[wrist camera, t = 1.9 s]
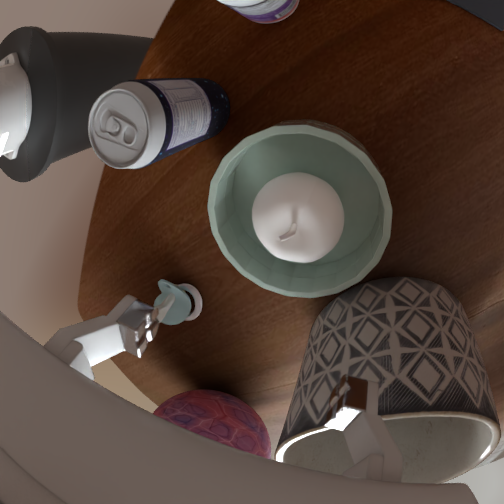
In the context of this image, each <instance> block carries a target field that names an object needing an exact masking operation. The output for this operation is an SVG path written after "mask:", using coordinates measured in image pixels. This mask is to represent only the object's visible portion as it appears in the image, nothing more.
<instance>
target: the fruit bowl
mask: <svg viewBox="0 0 504 504" xmlns="http://www.w3.org/2000/svg"><path fill="white" fill-rule="evenodd" d="M293 172H302V173H308V174H311V175H314V176H316V177H318V178H320V179H322V180H324V181H326V182H327V183H328V184H329V185H330V186H332V187H333V189H334V190H335V191H336V193H337V194H338V196H339V198H340V201H341V203H342V206H343V210H344V227H343V232H342V234H341V237H340V239H339V241H338V243H337V244H336V245H335V247H334V248H333V249H332V250H331V251H330V252H328V253H327V254H326V255H325V256H323V257H322V258H320V259H318V260H316V261H313V262H306V263H301V262H293V261H287V260H283V259H280V258H277V257H276V256H274V255H273V254H271V253H270V252H269V251H268V249H267V248H266V247H265V246H264V245H263V244H262V243H261V241H260V240H259V238H258V237H257V235H256V232H255V229H254V226H253V221H252V207H253V203H254V200H255V198H256V196H257V194H258V193H259V191H260V190H261V189H262V188H263V187H264V185H265V184H266V183H268V182H269V181H271V180H272V179H274V178H276V177H278V176H280V175H283V174H287V173H293ZM207 208H208V214H209V219H210V225H211V230H212V234H213V236H214V238H215V239H216V241H217V243H218V245H219V247H220V249H221V251H222V253H223V255H224V256H225V257H226V258H227V259H228V260H229V261H230V263H231V264H232V265H233V266H234V267H235V268H236V269H237V270H238V271H239V272H240V273H241V274H242V275H243V276H245V277H247V278H248V279H250V280H251V281H253V282H254V283H256V284H257V285H259V286H261V287H262V288H264V289H267V290H270V291H273V292H276V293H279V294H282V295H285V296H292V297H306V298H315V297H321V296H326V295H331V294H336V293H339V292H341V291H343V290H345V289H346V288H348V287H350V286H352V285H354V284H356V283H358V282H360V281H361V280H362V279H363V278H364V277H365V276H366V275H367V274H368V273H369V272H370V271H371V270H372V269H373V268H374V267H375V266H376V265H377V264H378V262H379V261H380V259H381V257H382V255H383V253H384V250H385V248H386V246H387V244H388V242H389V240H390V235H391V224H392V206H391V202H390V198H389V194H388V191H387V187H386V184H385V181H384V178H383V176H382V174H381V171H380V169H379V167H378V165H377V163H376V162H375V161H374V159H373V158H372V156H371V154H370V153H369V152H368V151H367V149H366V148H365V147H364V145H363V144H362V143H361V142H359V141H358V140H357V139H356V138H354V137H353V136H352V135H350V134H349V133H348V132H346V131H344V130H342V129H341V128H339V127H336V126H334V125H331V124H328V123H325V122H321V121H317V120H312V119H310V120H307V119H298V120H286V121H282V122H280V123H277V124H275V125H272V126H269V127H267V128H264V129H262V130H260V131H258V132H256V133H254V134H252V135H250V136H248V137H246V138H244V139H243V140H242V141H241V142H240V143H238V144H237V145H236V146H235V147H234V148H233V149H232V150H231V151H230V152H229V153H227V154H226V155H225V156H224V158H223V159H222V161H221V163H220V165H219V167H218V169H217V170H216V172H215V174H214V176H213V178H212V180H211V184H210V191H209V198H208V206H207Z"/></svg>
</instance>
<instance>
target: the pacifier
mask: <svg viewBox="0 0 504 504" xmlns="http://www.w3.org/2000/svg"><path fill="white" fill-rule="evenodd" d="M166 284H167V285H166ZM168 285H169V286H168ZM158 286H159V288H160V290H161V291H162V294H160V295H159V296H158V297H157V298H156V300H155V303H154V307H156V308H158V310H159V314H158V316H157V319H158V320H159V323H160V322H162V323H164V324H167V325H176V324H179V323H181V322H182V321H184V320H187V321H189V320H193V319H195V318H197V317H198V316H199V314H200V312H201V310H202V298H201V295H200V293H199V291H198V290H197V289H196V288H195V287H194V286H192V285H190V284H184V283H183V284H180V285H177V284H173V283H171V282H169V281H167V280H163V279H161V280H160V281H158ZM185 290H186V291H188V292H190V293H191V294H192V296H193V298H194V300H195V309H194V311H193V312H192V313H190V310H191V300H190V298H189V296H188V295H187V294H186V292H185Z"/></svg>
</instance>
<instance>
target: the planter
mask: <svg viewBox="0 0 504 504" xmlns="http://www.w3.org/2000/svg"><path fill="white" fill-rule="evenodd" d="M345 374H347V375H351V376H355V377H359V378H363V379H366V380H370V381H374V382H378V384H379V391H378V415H380V416H381V417H382V419H383V421H384V423H385V425H386V426H387V428H388V430H389V432H390V434H391V435H392V437H393V439H394V441H395V443H396V445H397V447H398V448H399V450H400V452H401V454H402V456H403V464H402V478H401V482H404V483H434V484H440V483H444V482H446V481H449V480H451V479H454V478H456V477H458V476H460V475H462V474H464V473H466V472H468V471H469V470H471V469H473V468H474V467H476V466H477V465H479V464H480V463H481V462H483V461H484V460H485V459H486V458H487V457H488V456H489V455H490V454H491V453H492V452H493V451H494V450H495V448H496V447H497V445H498V443H499V441H500V438H501V429H500V424H499V419H498V415H497V410H496V406H495V402H494V398H493V394H492V390H491V386H490V383H489V379H488V376H487V372H486V369H485V366H484V362H483V359H482V356H481V353H480V350H479V347H478V344H477V341H476V339H475V336H474V333H473V330H472V328H471V325H470V322H469V320H468V317H467V315H466V312H465V310H464V308H463V306H462V304H461V303H460V302H459V300H458V299H457V298H456V297H455V296H454V295H453V294H452V293H451V292H450V291H448V290H447V289H446V288H444V287H442V286H440V285H438V284H436V283H434V282H431V281H428V280H425V279H420V278H415V277H388V278H381V279H377V280H372V281H369V282H366V283H363V284H360V285H358V286H355V287H353V288H351V289H349V290H347V291H345V292H344V293H342V294H341V295H339V296H338V297H336V298H335V299H334V300H332V301H331V302H330V303H329V304H328V305H327V306H326V307H325V308H324V309H323V310H322V311H321V313H320V314H319V315H318V317H317V318H316V320H315V322H314V324H313V326H312V329H311V332H310V335H309V339H308V343H307V347H306V351H305V355H304V358H303V362H302V366H301V369H300V373H299V377H298V380H297V384H296V387H295V391H294V394H293V398H292V401H291V404H290V408H289V411H288V414H287V417H286V421H285V424H284V427H283V430H282V433H281V436H280V439H279V442H278V445H277V448H276V451H275V461H279V462H282V463H286V464H290V465H294V466H298V467H302V468H307V469H311V470H316V471H321V472H326V473H331V474H337V475H342V473H343V472H344V471H345V470H347V469H349V468H350V467H352V466H354V462H353V459H352V456H351V454H350V451H349V448H348V445H347V442H346V440H345V437H344V434H343V430H339V429H335V428H331V427H327V426H325V422H326V417H327V412H328V411H329V410H330V409H331V408H330V406H329V400H330V396H331V393H332V391H333V389H334V387H335V386H336V384H339V383H340V380H341V378H342V376H343V375H345Z"/></svg>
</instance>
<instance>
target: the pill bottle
mask: <svg viewBox="0 0 504 504" xmlns="http://www.w3.org/2000/svg"><path fill="white" fill-rule="evenodd" d="M217 1H219V2H221V3H223V4H224V5H226V6H228V7H229V8H231V9H233V10H235V11H236V12H238V13H239V14H241V15H242V16H244V17H246V18H247V19H249V20H251V21H254V22H257V23H266V24H267V23H275V22H279V21H281V20H283V19H285V18H287V17H288V16H290V15H291V14H292V13H293V12H294V11H295V9H296V8H297V6H298V3H299V0H217Z"/></svg>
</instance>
